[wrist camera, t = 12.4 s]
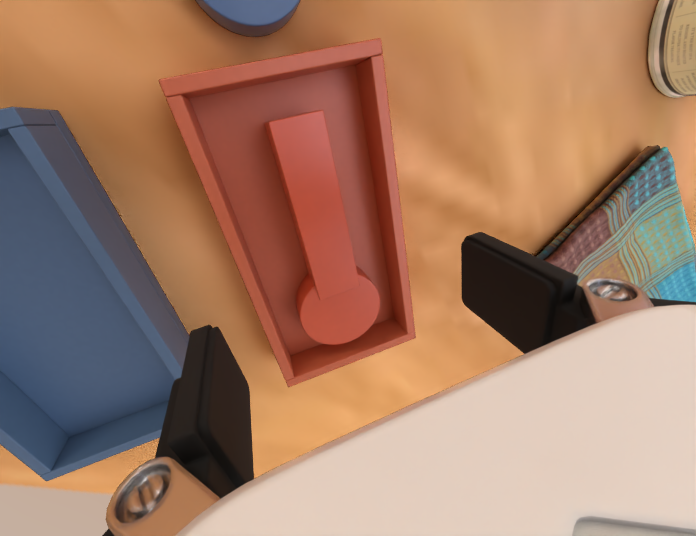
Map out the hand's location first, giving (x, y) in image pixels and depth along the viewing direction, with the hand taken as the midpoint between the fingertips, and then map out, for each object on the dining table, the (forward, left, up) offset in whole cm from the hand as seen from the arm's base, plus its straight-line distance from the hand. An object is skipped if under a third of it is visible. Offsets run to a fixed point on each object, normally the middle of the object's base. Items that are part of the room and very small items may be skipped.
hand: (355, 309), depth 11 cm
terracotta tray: (0, 0, -9) cm, 9 cm away
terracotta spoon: (0, 0, -8) cm, 8 cm away
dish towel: (+15, +27, -9) cm, 32 cm away
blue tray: (0, -14, -9) cm, 16 cm away
